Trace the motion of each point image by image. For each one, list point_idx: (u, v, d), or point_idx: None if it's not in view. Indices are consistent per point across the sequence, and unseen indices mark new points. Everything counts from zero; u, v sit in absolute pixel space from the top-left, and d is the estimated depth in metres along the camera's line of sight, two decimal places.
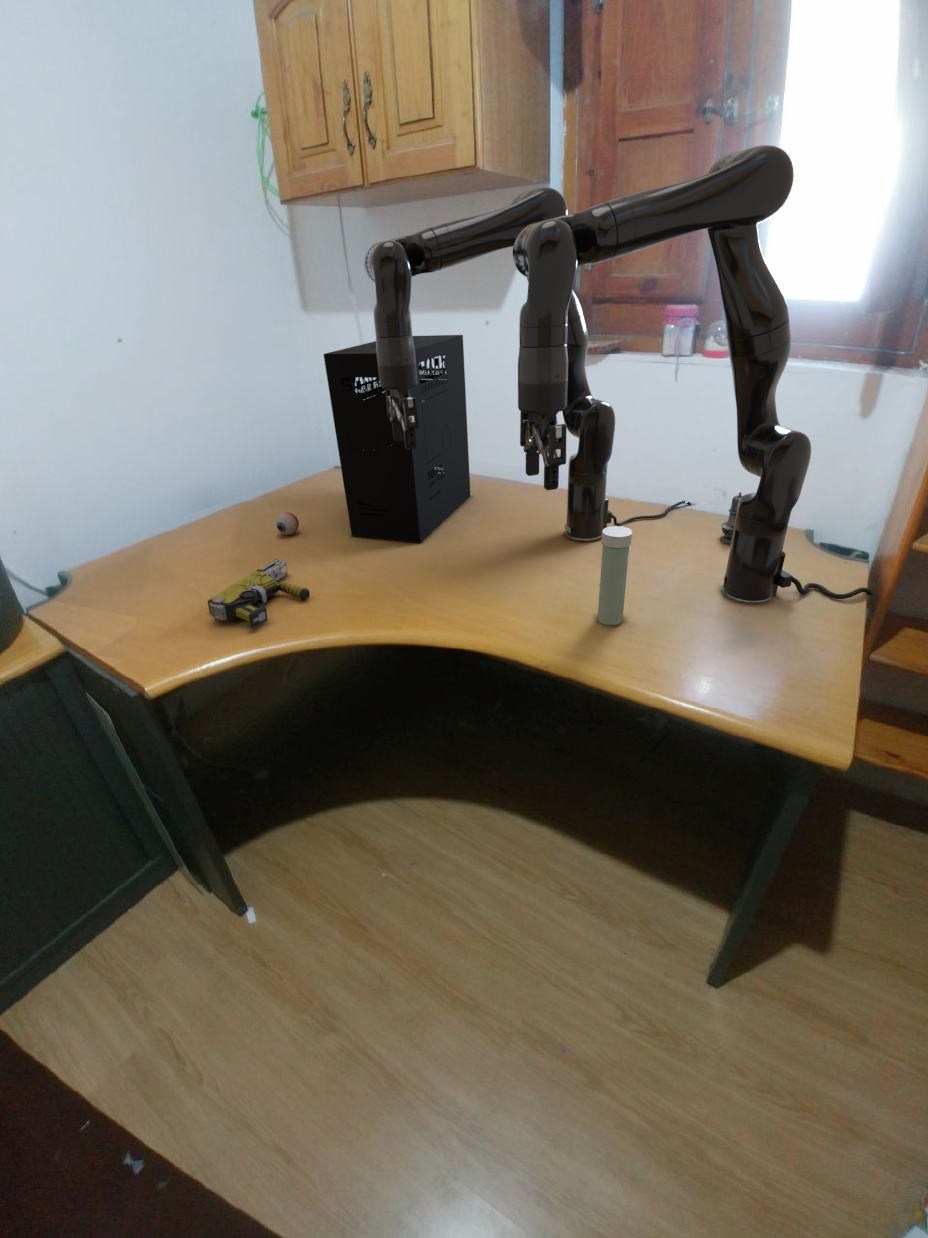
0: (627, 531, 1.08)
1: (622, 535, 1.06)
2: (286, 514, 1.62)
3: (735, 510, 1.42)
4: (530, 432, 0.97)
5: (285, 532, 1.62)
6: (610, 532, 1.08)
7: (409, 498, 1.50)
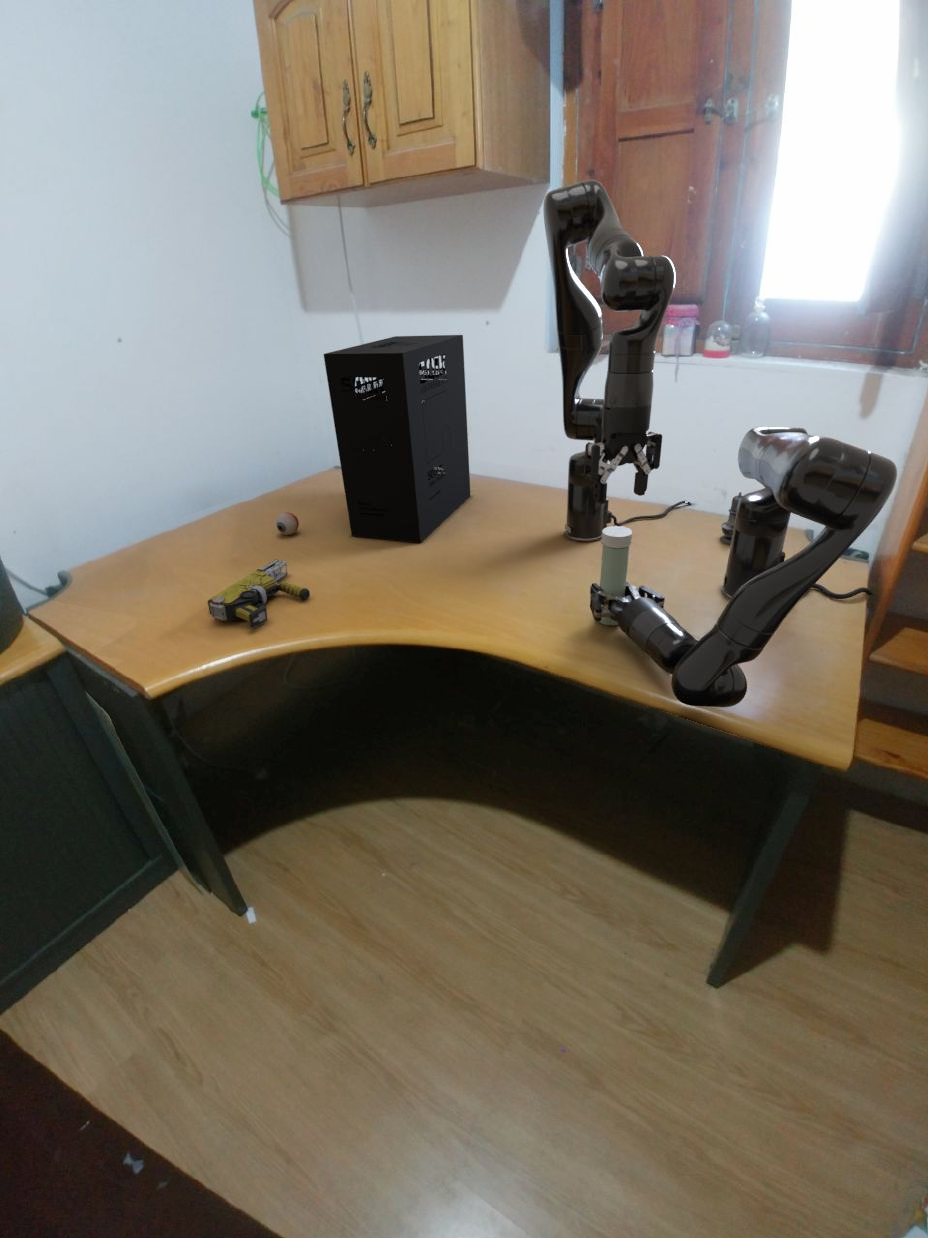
0: (627, 531, 1.08)
1: (622, 535, 1.06)
2: (286, 514, 1.62)
3: (735, 510, 1.42)
4: None
5: (285, 532, 1.62)
6: (610, 532, 1.08)
7: (409, 498, 1.50)
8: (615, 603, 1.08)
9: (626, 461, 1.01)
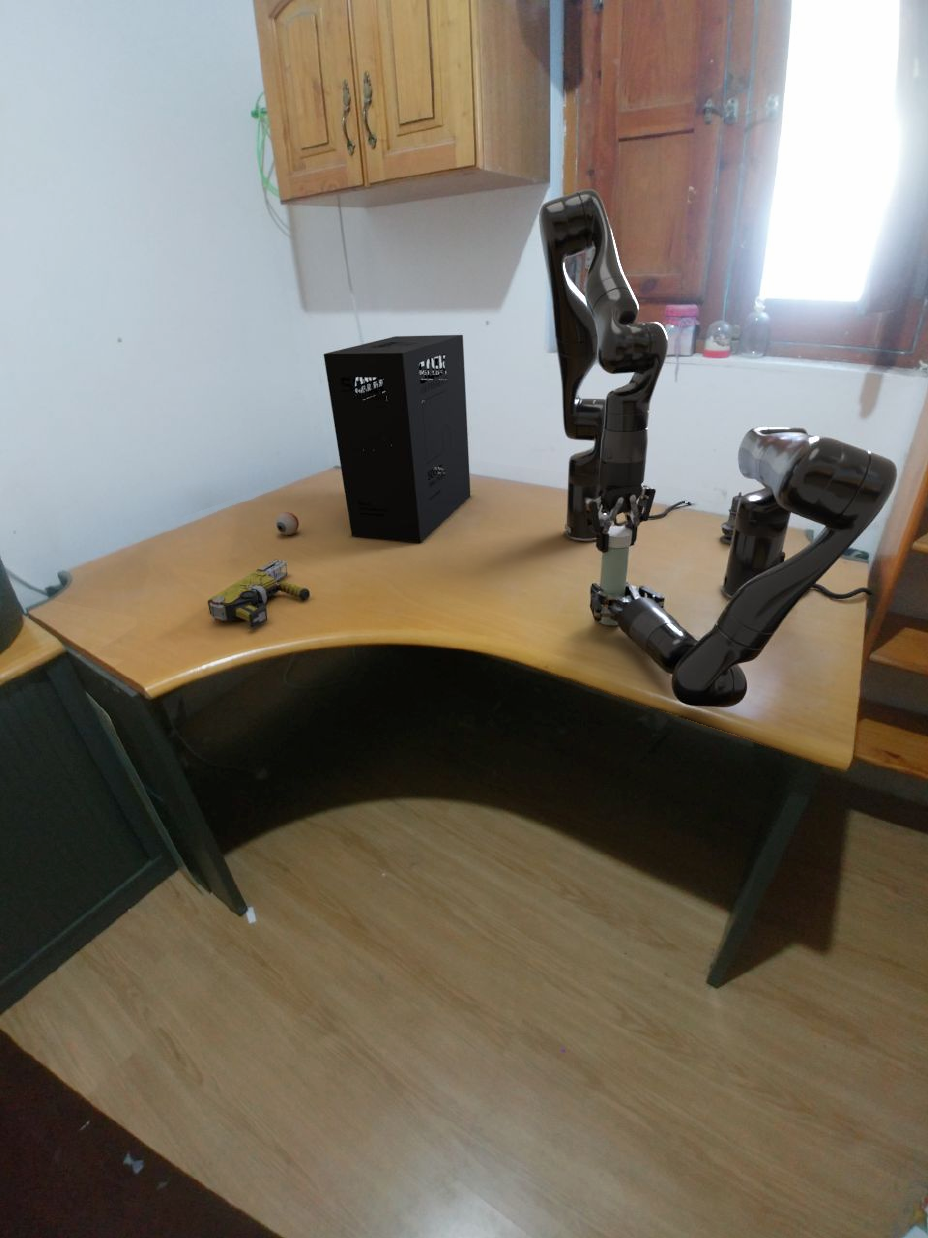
0: (627, 531, 1.08)
1: (622, 535, 1.06)
2: (286, 514, 1.62)
3: (735, 510, 1.42)
4: None
5: (285, 532, 1.62)
6: (610, 532, 1.08)
7: (409, 498, 1.50)
8: (615, 603, 1.08)
9: (622, 511, 1.05)
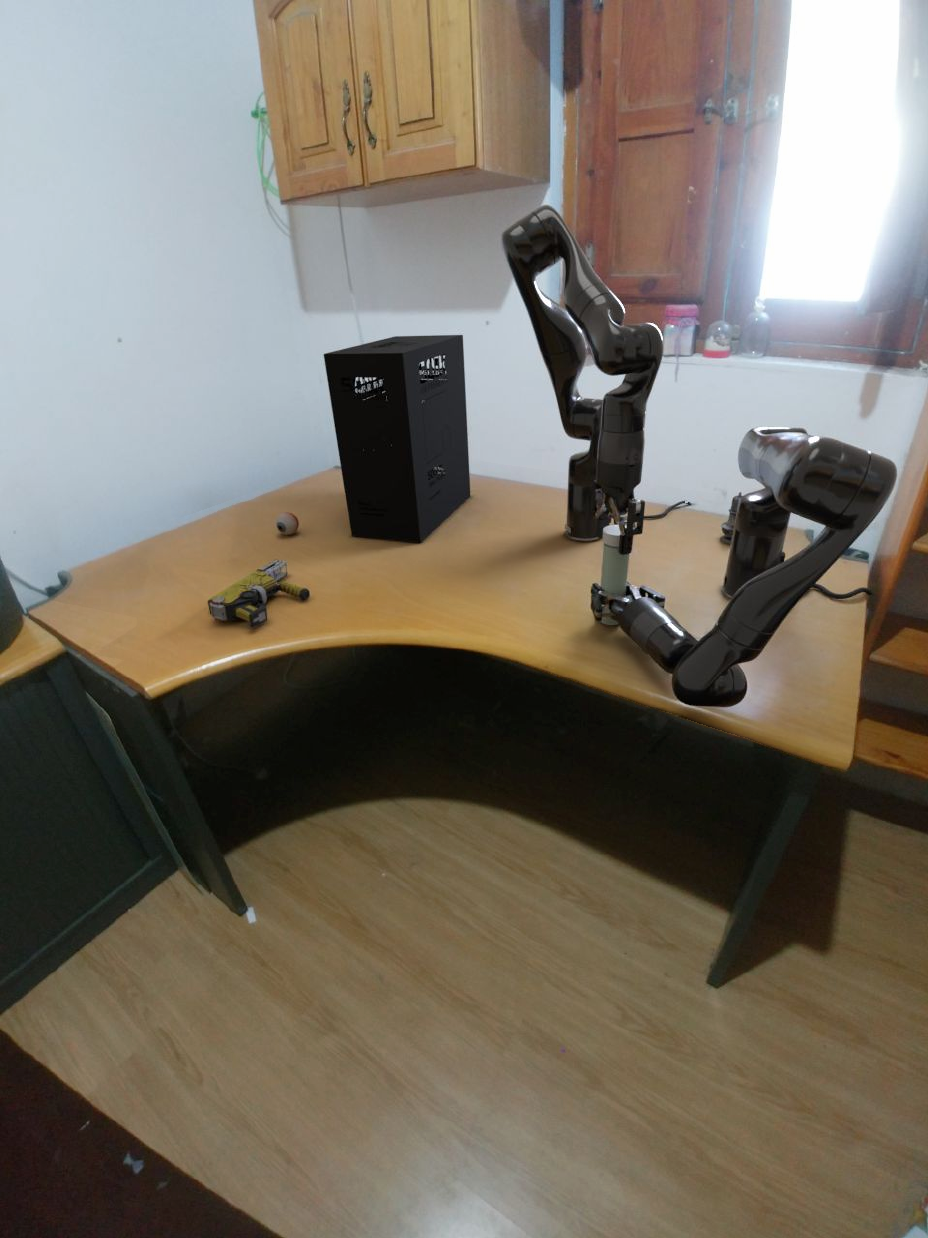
0: (615, 526, 1.10)
1: None
2: (286, 514, 1.62)
3: (735, 510, 1.42)
4: None
5: (285, 532, 1.62)
6: None
7: (409, 498, 1.50)
8: (616, 603, 1.08)
9: None
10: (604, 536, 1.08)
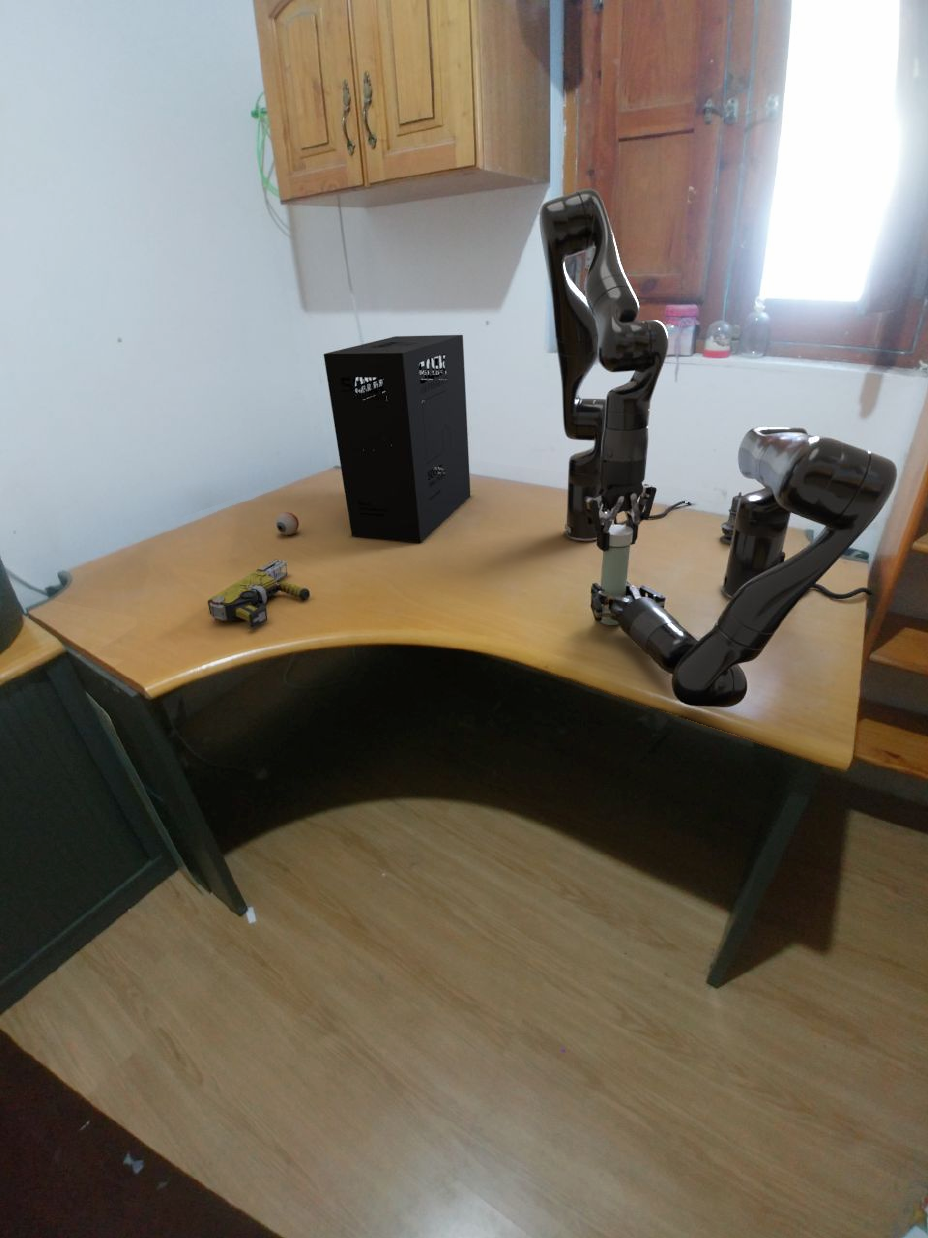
0: (615, 526, 1.10)
1: (627, 527, 1.09)
2: (286, 514, 1.62)
3: (735, 510, 1.42)
4: None
5: (285, 532, 1.62)
6: (622, 532, 1.07)
7: (409, 498, 1.50)
8: (616, 603, 1.08)
9: (622, 509, 1.05)
10: None
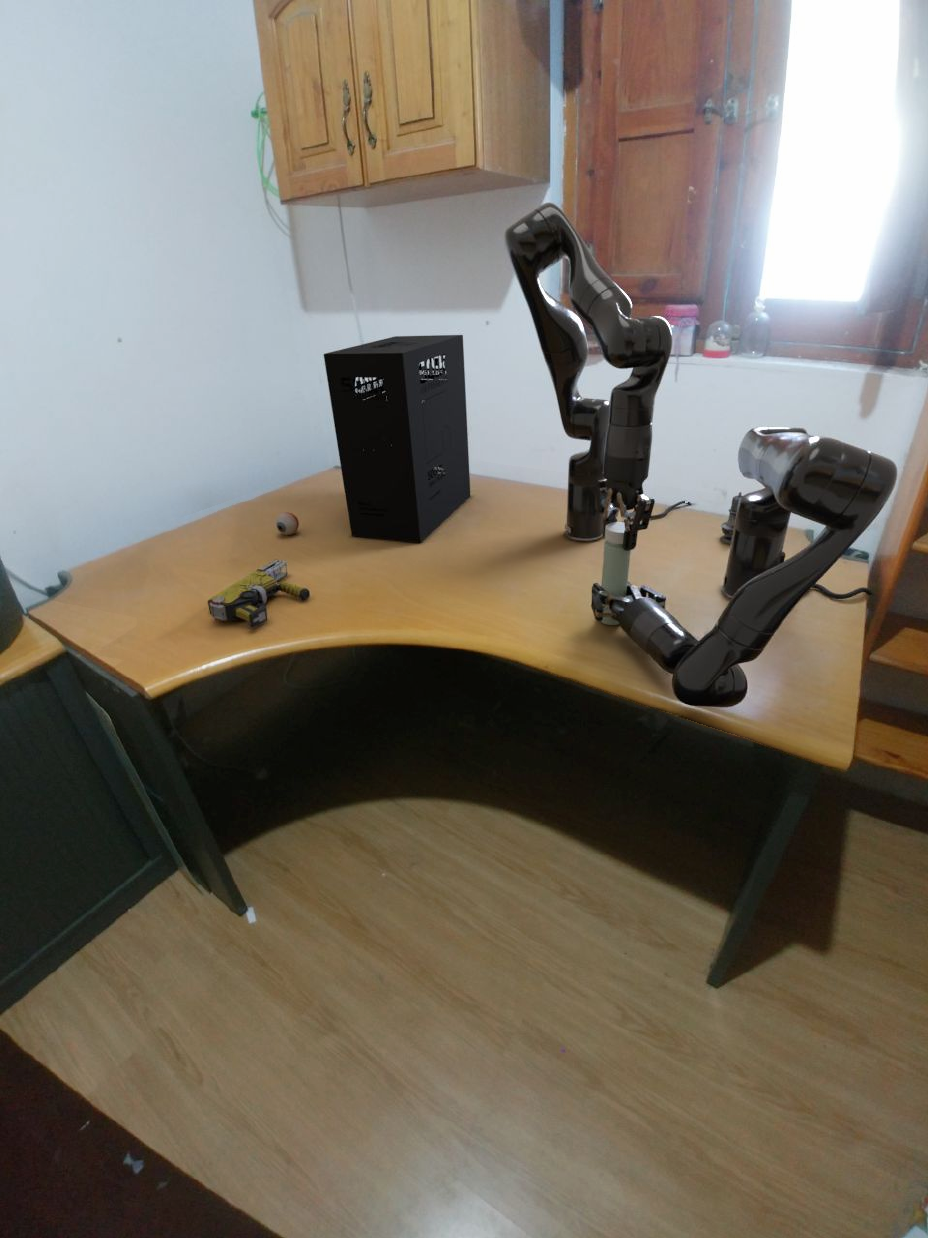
0: (610, 527, 1.08)
1: (613, 523, 1.09)
2: (286, 514, 1.62)
3: (735, 510, 1.42)
4: None
5: (285, 532, 1.62)
6: None
7: (409, 498, 1.50)
8: (616, 603, 1.08)
9: None
10: None
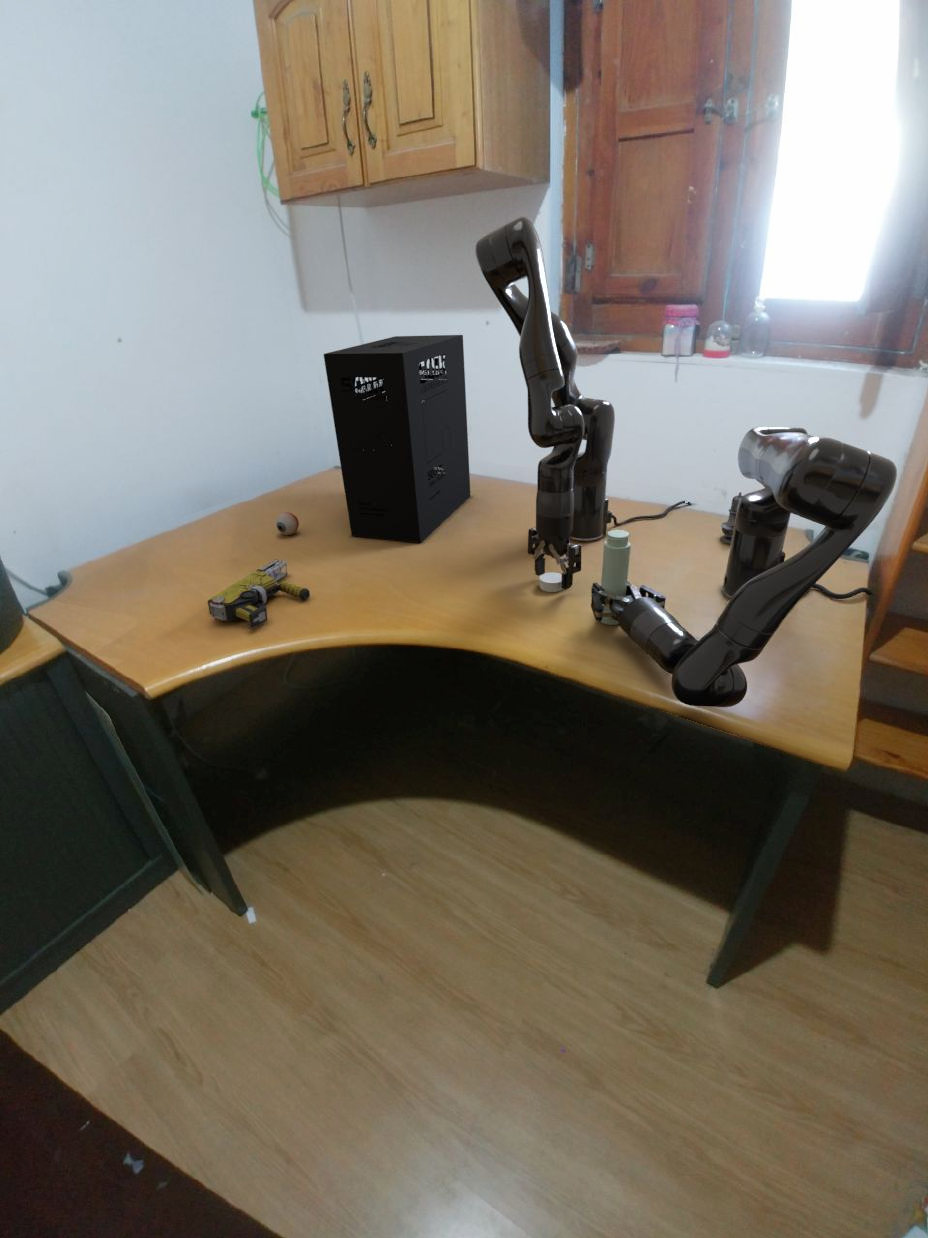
0: (543, 578, 1.29)
1: (545, 574, 1.31)
2: (286, 514, 1.62)
3: (735, 510, 1.42)
4: None
5: (285, 532, 1.62)
6: (556, 575, 1.30)
7: (409, 498, 1.50)
8: (616, 603, 1.08)
9: None
10: (558, 585, 1.28)
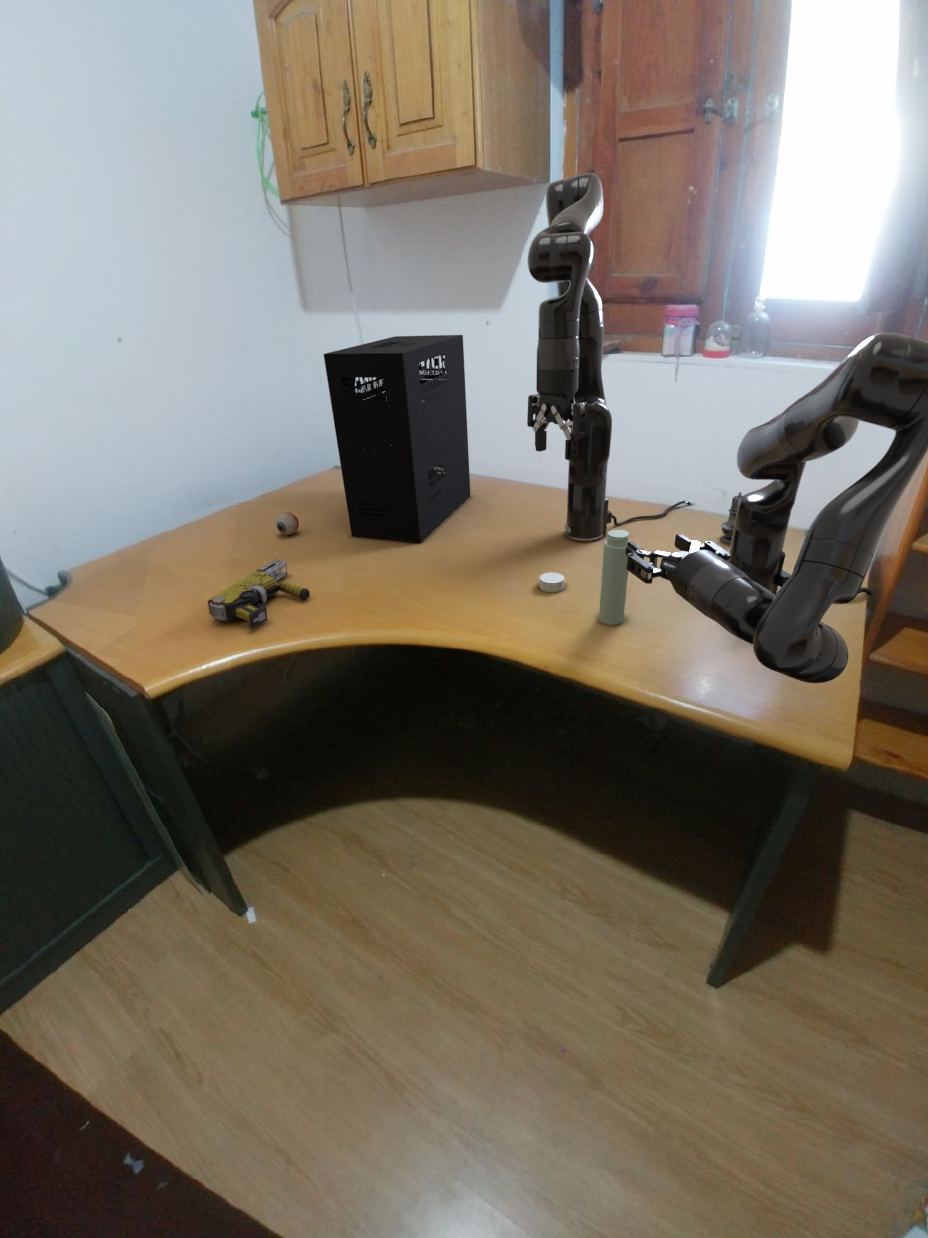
0: (543, 578, 1.29)
1: (545, 574, 1.31)
2: (286, 514, 1.62)
3: (735, 510, 1.42)
4: None
5: (285, 532, 1.62)
6: (556, 575, 1.30)
7: (409, 498, 1.50)
8: (666, 559, 0.89)
9: None
10: (558, 585, 1.28)
